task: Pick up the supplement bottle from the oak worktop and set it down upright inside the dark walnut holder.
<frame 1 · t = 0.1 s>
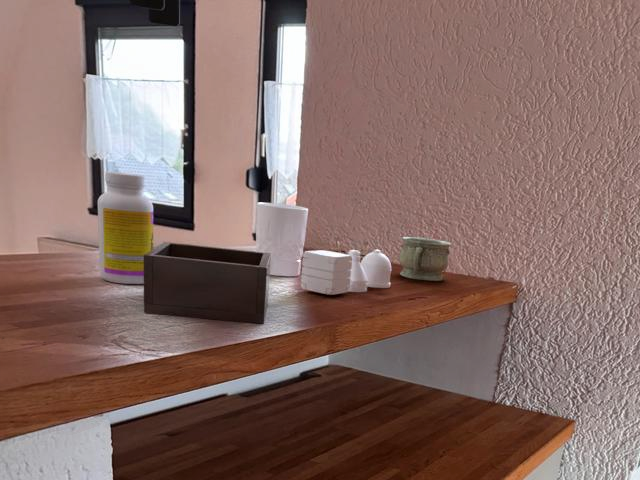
hand: (156, 16, 75), 29 cm above the table, tool pointing down, fingers open, 9 cm apart
container set: (350, 290, 109), on the table
holder: (210, 307, 85), on the table
vessel: (421, 278, 130), on the table
supplement bottle: (126, 282, 94), on the table
white cup: (278, 274, 115), on the table
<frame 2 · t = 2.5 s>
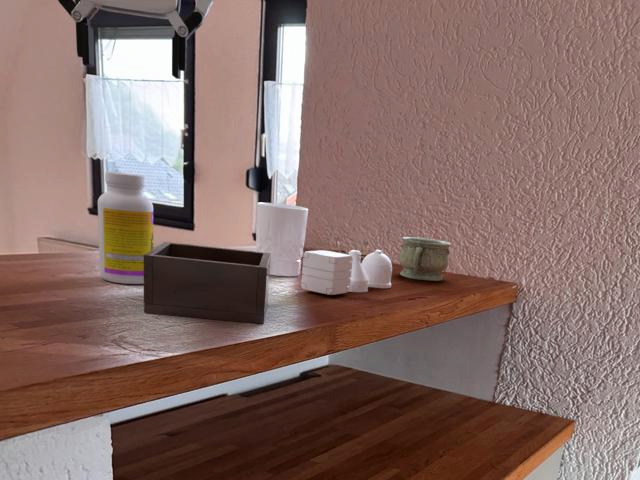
hand: (132, 71, 83), 24 cm above the table, tool pointing down, fingers open, 9 cm apart
nothing on the table moved.
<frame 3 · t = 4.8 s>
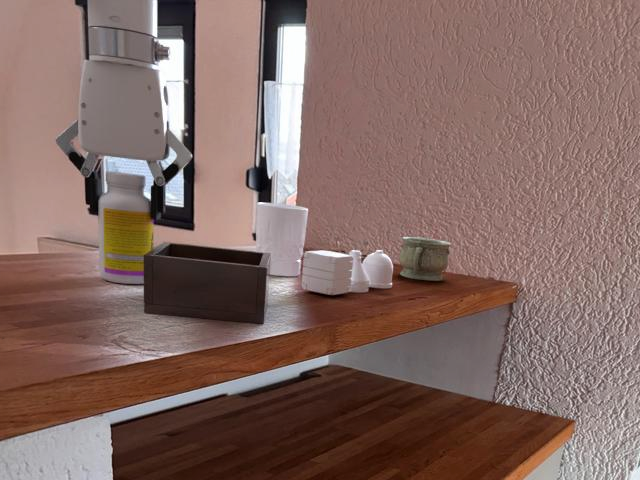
hand: (126, 214, 91), 8 cm above the table, tool pointing down, fingers closed on supplement bottle, 6 cm apart
supplement bottle: (126, 282, 94), on the table, touching gripper
everything else where it was.
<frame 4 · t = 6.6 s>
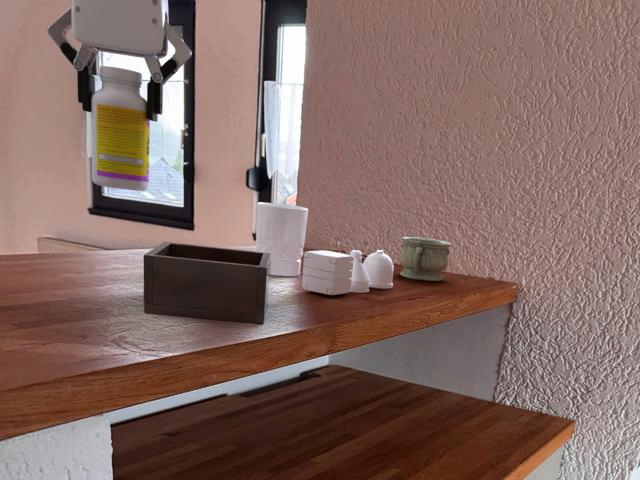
hand: (120, 114, 86), 19 cm above the table, tool pointing down, fingers closed on supplement bottle, 6 cm apart
supplement bottle: (120, 189, 90), point 11 cm above the table, touching gripper
everything else where it was.
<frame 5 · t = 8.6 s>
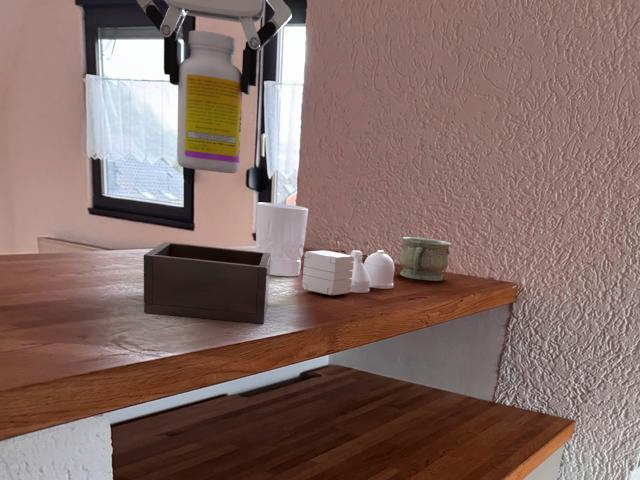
hand: (210, 87, 76), 23 cm above the table, tool pointing down, fingers closed on supplement bottle, 6 cm apart
supplement bottle: (208, 172, 80), point 14 cm above the table, touching gripper
everything else where it was.
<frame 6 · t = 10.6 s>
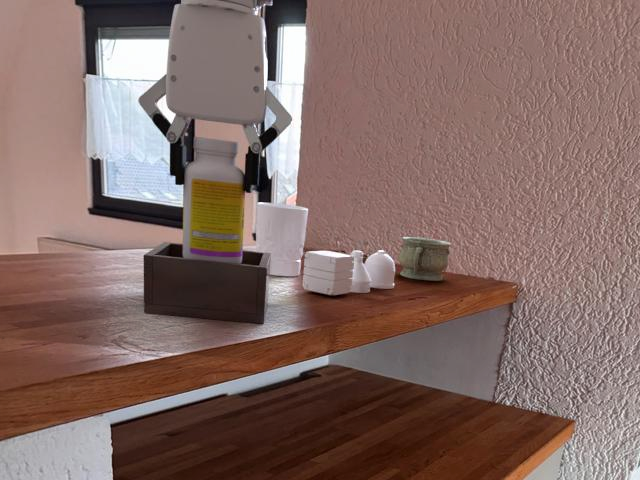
hand: (214, 186, 80), 13 cm above the table, tool pointing down, fingers closed on supplement bottle, 6 cm apart
supplement bottle: (212, 265, 83), point 5 cm above the table, touching gripper
everything else where it was.
when the fingers open (9 cm above the table, at t = 12.3 s): supplement bottle stays where it is, resting on holder.
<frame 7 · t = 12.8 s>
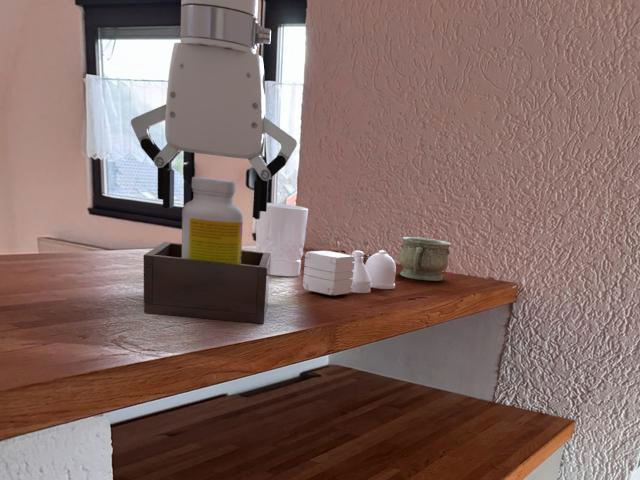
hand: (212, 212, 81), 10 cm above the table, tool pointing down, fingers open, 9 cm apart
supplement bottle: (210, 300, 85), point 1 cm above the table, touching holder
everything else where it was.
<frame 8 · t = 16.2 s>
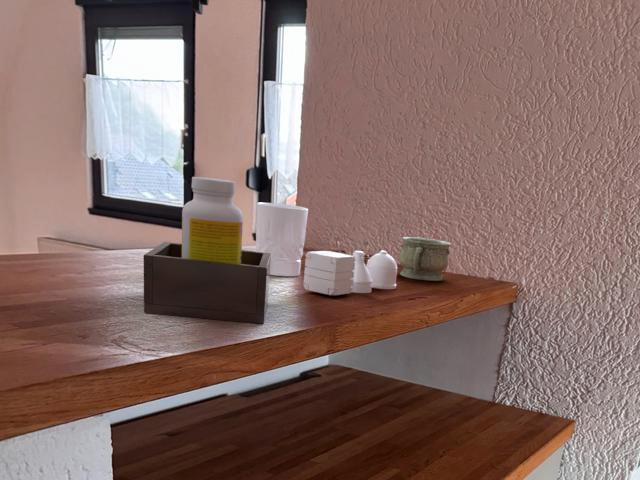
hand: (152, 5, 79), 30 cm above the table, tool pointing down, fingers open, 9 cm apart
nothing on the table moved.
at the end: supplement bottle inside the target area in the holder (0.1 cm from its centre), point 0.8 cm above the holder's base; supplement bottle tilted 0°; the gripper is holding nothing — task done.
